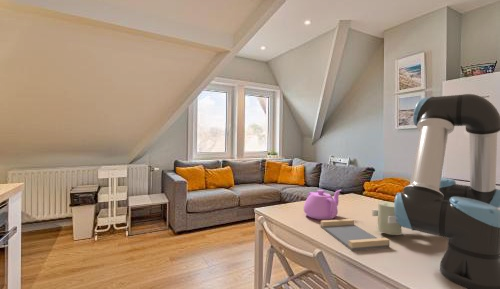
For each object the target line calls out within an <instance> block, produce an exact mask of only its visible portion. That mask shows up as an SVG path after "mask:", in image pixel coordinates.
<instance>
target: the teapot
mask: <svg viewBox="0 0 500 289" xmlns="http://www.w3.org/2000/svg"><path fill="white" fill-rule="evenodd" d="M316 191H317V192H314V191H310V192H308V195H307V198H306V200H305V202H304V204H303V212H304V213H305V215H306V216H308V217H309V218H311V219H315V220H319V221H323V220H334V218H336V216H337V215H338V206H339V194H340V192H342V189H337V190H336V191H335V192H334V195H333V196H332V195H331V194H330V193H327V192H325V190H323V189H317V190H316Z"/></svg>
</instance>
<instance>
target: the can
mask: <svg viewBox="0 0 500 289" xmlns="http://www.w3.org/2000/svg"><path fill="white" fill-rule="evenodd" d="M394 203H395V202H393V201H378V204H377V205H378V207H377V209H378V216H377V226H376V229H377V230H378V231H379V232H381V233H384V234H387V235H394V236H398V235H401V234H402V232H403V231H402V226H400V225H399V224H398V223H388V216H395V209H394Z"/></svg>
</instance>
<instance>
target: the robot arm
mask: <svg viewBox="0 0 500 289" xmlns="http://www.w3.org/2000/svg"><path fill="white" fill-rule="evenodd" d="M412 118H413V119H412V120H413V124H414V126H415V127H416V129H417V131H419V135H418V136H419V137H418V142H417V146H416V147H417V148H416V150H415V156H414V160H413V165H412V166H413V167H412V170H411V171H412V172H411V176H410V180H409V181H410V182H409V184H408V185H406V186H404V187H403V190H402V192H397V193H396V194H395V197H394V202H393V203H394V209H395V216H388V223H398V224H399V225H400V226H401V228H406V229H408V230H411V231H416V232H420V233H424V234H430V235H433V236H437V237H440V238H441V237H442V238H444V239H447V242H448V243H447V248H446V250H445V252H444V254H443V256H442V257H441V260H440V263H439V271H440V273H441V274H442V275H443V276H444V278H446V279H448V280H450V281H451V282H453V283H455V284H457V285H459V286H461V287H464V288H466V289H500V209H499V208H500V189H498V188H496V186H497V185H496V184H497V183H496V182H497V150H498V149H497V148H498V133H500V113H499V110H498V109H497V108H496V107H495V105H494V104H493V103H492V102H491V101H489V100H488V99H486V98H485V97H483V96H481V95H478V94H474V93H473V94H471V93H464V94H454V95H453V94H452V95H443V96H429V97H423V98H421V99H419V100H418V101H417V102H416V105H415V106H414V110H413V117H412ZM464 126H465V132H466V133H468V134H469V135H468V136H469V185H465V184H464V185H463V184H458V183H457V182H456V180H455V179H451V178H448V177H447V178H444V177H442V175H443V167H444V161H445V157H446V149H447V142H448V135H449V134H451V133H453V132H454V130H455V127H464ZM371 211H372V214H371V216H372V217H378V208H376V209H372V210H371Z"/></svg>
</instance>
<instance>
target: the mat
mask: <svg viewBox="0 0 500 289" xmlns="http://www.w3.org/2000/svg"><path fill="white" fill-rule="evenodd" d="M320 228H321V229H322V230H324V231H325V232H327V233H328V234H329V235H330V236H332V237H333V238H334V239H336V240H337V241H338V242H340V243H341V244H342V245H344V246H345V247H346V248H347V249H348V250H350V251H353V252H354V251H363V250H375V249H389V248H390V239H389V238H387V237H376V236H375V235H373V234H371V233H370V232H368V231H366V230H365V229H362V227H359V226H358V225H356V224H355V219H352V218H350V219H349V218H348V219H346V218H343V219H329V220H320Z"/></svg>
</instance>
